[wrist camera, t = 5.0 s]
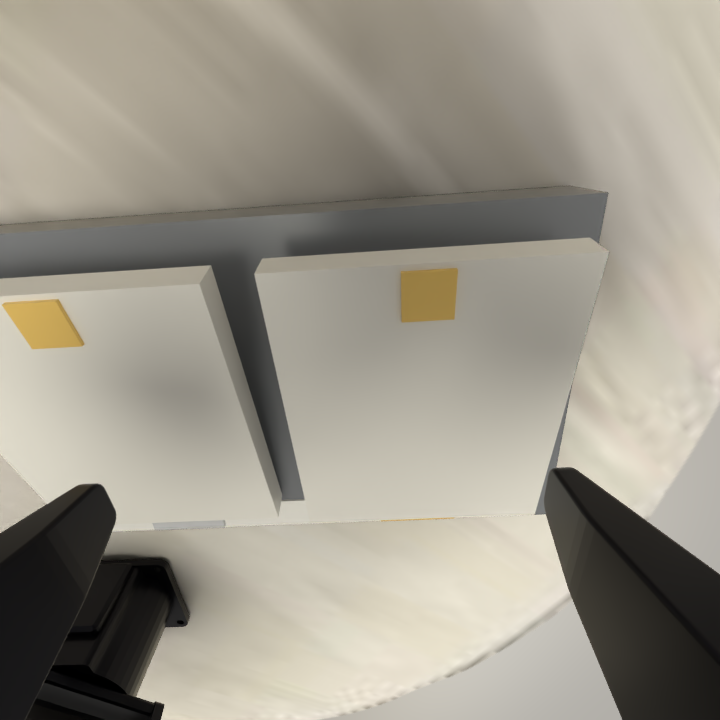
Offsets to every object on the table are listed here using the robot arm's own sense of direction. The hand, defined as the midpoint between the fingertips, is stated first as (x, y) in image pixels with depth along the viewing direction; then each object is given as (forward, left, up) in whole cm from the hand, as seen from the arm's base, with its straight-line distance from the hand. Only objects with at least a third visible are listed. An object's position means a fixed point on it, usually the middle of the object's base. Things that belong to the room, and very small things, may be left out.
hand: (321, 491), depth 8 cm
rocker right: (-3, -3, -7) cm, 8 cm away
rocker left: (-3, +9, -7) cm, 11 cm away
